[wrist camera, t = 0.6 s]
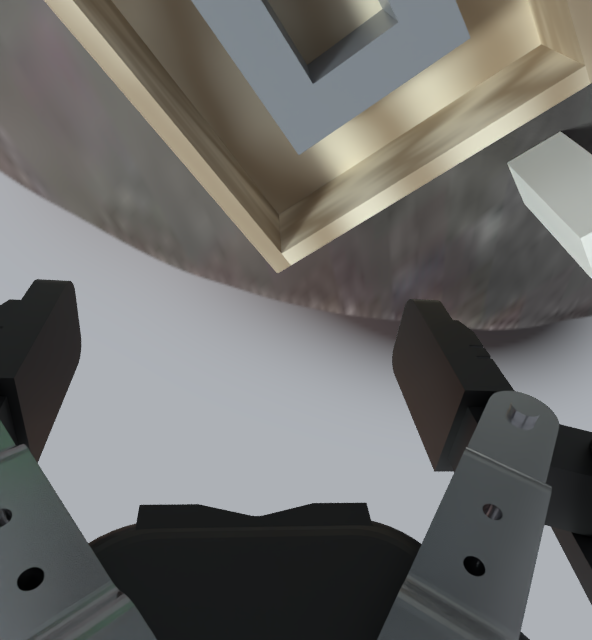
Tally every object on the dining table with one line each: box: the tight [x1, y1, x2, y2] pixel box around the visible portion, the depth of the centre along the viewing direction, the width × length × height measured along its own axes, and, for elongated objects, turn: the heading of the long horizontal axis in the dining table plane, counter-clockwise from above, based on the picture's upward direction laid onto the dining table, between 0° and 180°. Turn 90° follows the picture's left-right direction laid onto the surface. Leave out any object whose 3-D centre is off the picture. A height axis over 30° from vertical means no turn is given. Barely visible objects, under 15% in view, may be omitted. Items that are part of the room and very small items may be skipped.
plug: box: [507, 131, 592, 278], centre depth 30 cm, size 4×4×13 cm
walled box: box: [44, 0, 592, 273], centre depth 25 cm, size 20×20×6 cm
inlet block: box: [191, 0, 471, 155], centre depth 25 cm, size 10×10×4 cm
